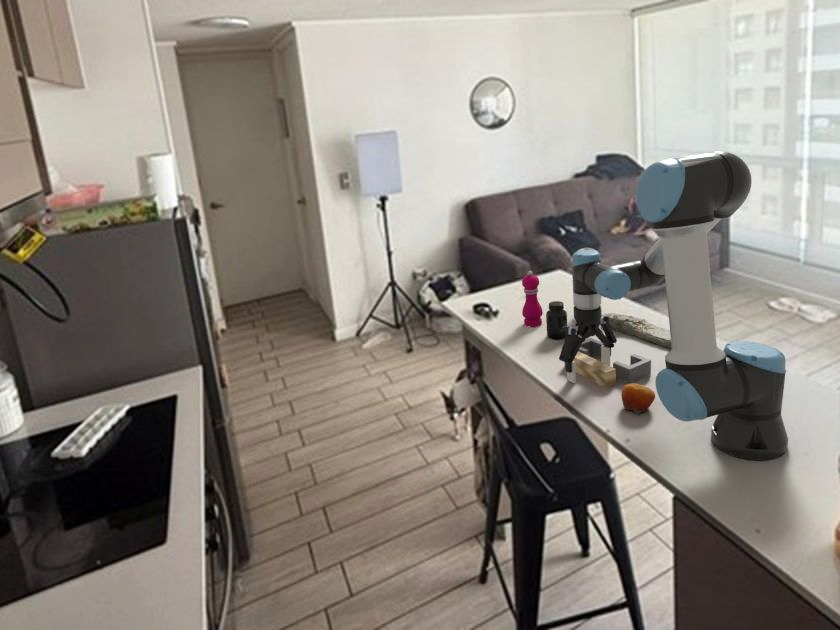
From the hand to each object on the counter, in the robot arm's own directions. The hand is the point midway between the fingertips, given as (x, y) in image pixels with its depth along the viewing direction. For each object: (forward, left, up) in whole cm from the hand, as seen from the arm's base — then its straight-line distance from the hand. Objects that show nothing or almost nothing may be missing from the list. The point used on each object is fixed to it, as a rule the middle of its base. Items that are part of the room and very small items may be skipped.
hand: (589, 374), depth 176 cm
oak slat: (0, 0, 0) cm, 0 cm away
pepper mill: (+43, -15, 0) cm, 45 cm away
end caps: (0, -8, 0) cm, 8 cm away
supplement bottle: (+28, -13, 0) cm, 31 cm away
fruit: (-22, +5, 0) cm, 23 cm away
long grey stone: (+9, -34, -1) cm, 35 cm away
